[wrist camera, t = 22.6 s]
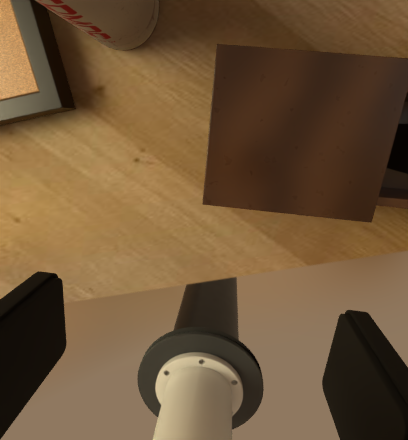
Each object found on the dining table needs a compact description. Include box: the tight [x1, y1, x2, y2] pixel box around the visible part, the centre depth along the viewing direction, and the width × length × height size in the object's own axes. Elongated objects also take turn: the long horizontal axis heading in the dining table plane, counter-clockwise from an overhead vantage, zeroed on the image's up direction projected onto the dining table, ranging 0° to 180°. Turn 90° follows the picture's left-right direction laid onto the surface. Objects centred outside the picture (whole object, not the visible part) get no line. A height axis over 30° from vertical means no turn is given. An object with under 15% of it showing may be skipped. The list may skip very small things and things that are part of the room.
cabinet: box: [203, 44, 408, 222], centre depth 29 cm, size 15×13×9 cm
